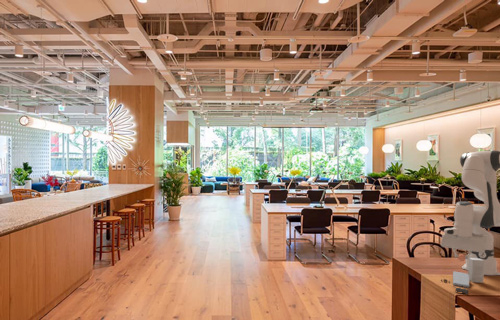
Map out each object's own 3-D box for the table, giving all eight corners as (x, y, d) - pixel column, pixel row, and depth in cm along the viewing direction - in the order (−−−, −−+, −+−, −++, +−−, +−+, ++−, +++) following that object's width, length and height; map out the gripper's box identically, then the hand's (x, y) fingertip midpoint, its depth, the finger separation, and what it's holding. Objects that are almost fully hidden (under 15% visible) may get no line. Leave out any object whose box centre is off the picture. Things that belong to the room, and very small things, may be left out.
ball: (457, 261, 185) (457, 254, 185) (457, 259, 188) (457, 253, 188) (465, 262, 183) (465, 255, 183) (465, 261, 186) (465, 254, 186)
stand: (441, 279, 187) (441, 278, 187) (449, 281, 185) (449, 280, 185) (440, 281, 183) (441, 280, 183) (449, 283, 181) (449, 282, 181)
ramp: (452, 278, 189) (453, 270, 189) (467, 281, 186) (468, 273, 186) (453, 285, 179) (453, 276, 179) (469, 288, 175) (469, 279, 175)
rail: (455, 291, 169) (455, 287, 169) (467, 294, 167) (468, 289, 167) (455, 292, 168) (455, 288, 168) (467, 294, 166) (468, 290, 166)
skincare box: (478, 280, 189) (479, 258, 190) (483, 283, 185) (484, 260, 185) (467, 279, 190) (468, 257, 190) (471, 282, 185) (473, 259, 185)
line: (453, 286, 176) (453, 286, 176) (469, 289, 173) (469, 289, 173) (453, 286, 176) (453, 286, 176) (469, 290, 172) (469, 289, 172)
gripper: (485, 234, 183) (484, 260, 183) (441, 228, 193) (440, 253, 193) (487, 235, 178) (485, 263, 177) (441, 229, 188) (439, 255, 188)
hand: (461, 258), depth 185 cm, fingers closed on ball, 4 cm apart
